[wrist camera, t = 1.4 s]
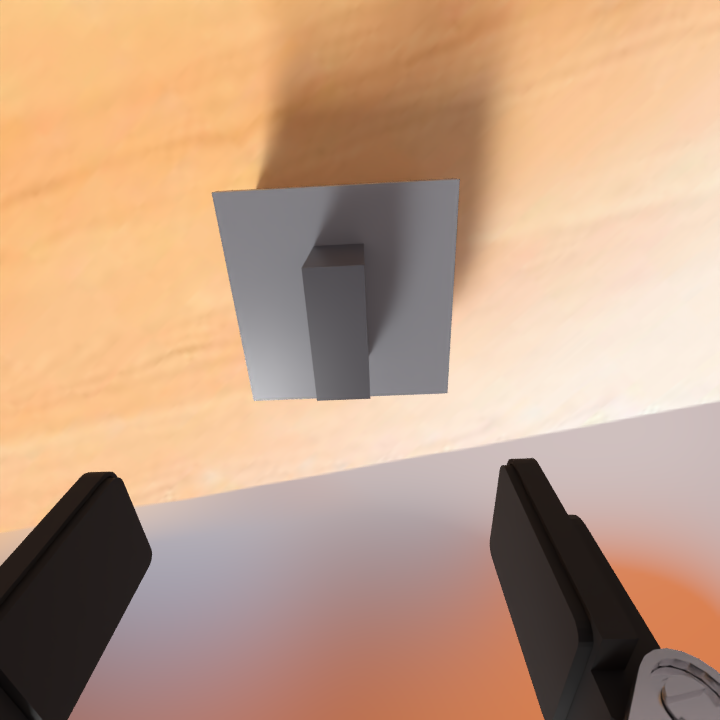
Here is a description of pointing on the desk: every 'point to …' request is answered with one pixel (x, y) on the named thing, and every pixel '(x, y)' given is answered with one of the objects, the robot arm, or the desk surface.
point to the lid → (343, 286)
